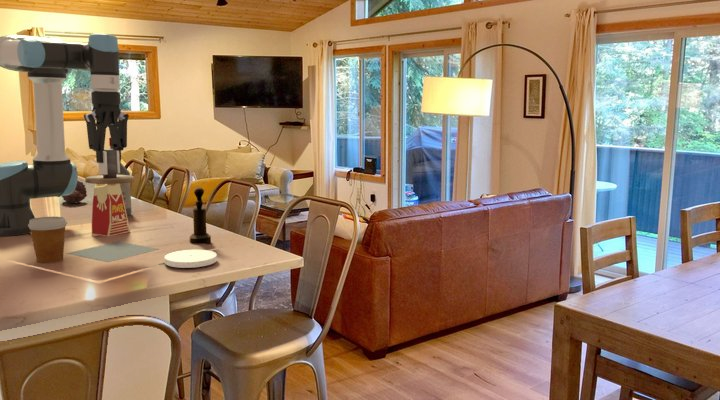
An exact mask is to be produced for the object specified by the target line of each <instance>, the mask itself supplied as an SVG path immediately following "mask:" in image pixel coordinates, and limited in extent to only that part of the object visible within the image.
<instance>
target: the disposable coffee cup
mask: <svg viewBox="0 0 720 400" xmlns="http://www.w3.org/2000/svg"><path fill="white" fill-rule="evenodd" d="M67 224H68V222H67V221H66V218H65V217H63V216H41V217H35V218H34V219H31V220H30V221H29V224H28V227H29V229H30V231H31V233H30V235H31V239H32V245H33V249H34V254H35V258H36V262H37V263H39V264H40V263H41V264H53V263H58V262H61V261H63V260H64V250H65V237H66V235H65V234H66V227H67Z"/></svg>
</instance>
